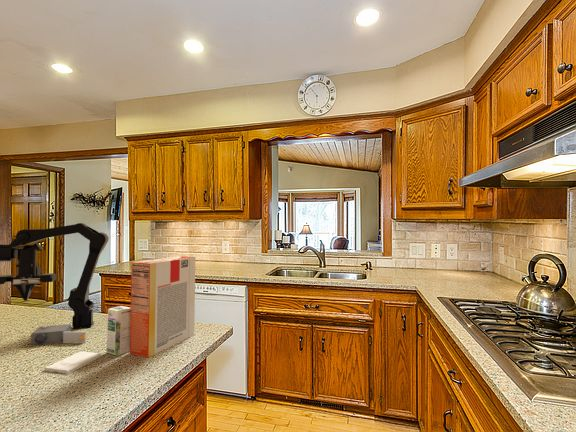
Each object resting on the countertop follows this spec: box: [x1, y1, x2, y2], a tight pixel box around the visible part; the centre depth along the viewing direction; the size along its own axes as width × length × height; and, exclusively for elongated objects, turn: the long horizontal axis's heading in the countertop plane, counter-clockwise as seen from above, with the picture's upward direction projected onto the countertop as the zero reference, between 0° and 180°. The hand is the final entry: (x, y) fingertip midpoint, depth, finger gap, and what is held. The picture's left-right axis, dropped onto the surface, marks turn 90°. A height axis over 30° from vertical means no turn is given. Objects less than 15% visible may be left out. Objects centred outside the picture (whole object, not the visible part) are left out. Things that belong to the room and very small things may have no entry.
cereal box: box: [129, 255, 196, 358], centre depth 118 cm, size 23×8×30 cm, turn 158°
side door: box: [60, 331, 87, 343], centre depth 117 cm, size 2×9×4 cm, turn 92°
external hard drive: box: [43, 350, 102, 375], centre depth 100 cm, size 2×8×12 cm
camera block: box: [30, 323, 72, 346], centre depth 120 cm, size 10×9×5 cm
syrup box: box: [106, 305, 131, 357], centre depth 110 cm, size 6×6×14 cm
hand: (25, 300), depth 129 cm, fingers closed
